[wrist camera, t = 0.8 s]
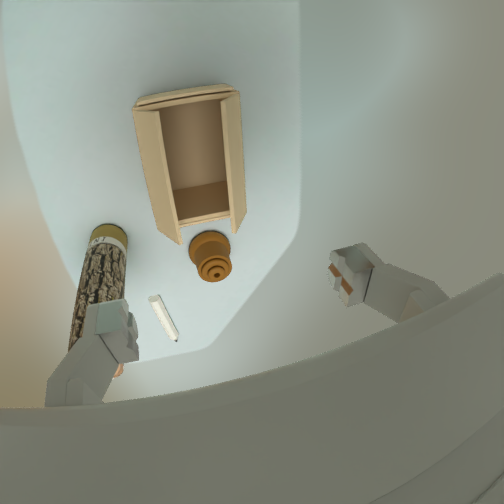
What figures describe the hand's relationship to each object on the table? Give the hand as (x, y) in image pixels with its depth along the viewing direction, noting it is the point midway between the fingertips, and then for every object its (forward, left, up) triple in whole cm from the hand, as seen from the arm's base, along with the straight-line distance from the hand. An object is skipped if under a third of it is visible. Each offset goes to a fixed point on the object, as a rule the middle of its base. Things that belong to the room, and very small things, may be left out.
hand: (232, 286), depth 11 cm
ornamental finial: (+25, +2, -36) cm, 44 cm away
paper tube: (+19, -15, -36) cm, 43 cm away
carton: (+5, +1, -36) cm, 36 cm away
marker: (+42, -10, -36) cm, 56 cm away
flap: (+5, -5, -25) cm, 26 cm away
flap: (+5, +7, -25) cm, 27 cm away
